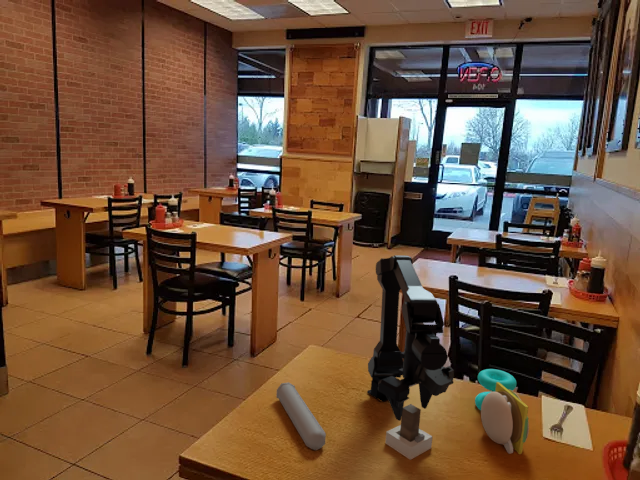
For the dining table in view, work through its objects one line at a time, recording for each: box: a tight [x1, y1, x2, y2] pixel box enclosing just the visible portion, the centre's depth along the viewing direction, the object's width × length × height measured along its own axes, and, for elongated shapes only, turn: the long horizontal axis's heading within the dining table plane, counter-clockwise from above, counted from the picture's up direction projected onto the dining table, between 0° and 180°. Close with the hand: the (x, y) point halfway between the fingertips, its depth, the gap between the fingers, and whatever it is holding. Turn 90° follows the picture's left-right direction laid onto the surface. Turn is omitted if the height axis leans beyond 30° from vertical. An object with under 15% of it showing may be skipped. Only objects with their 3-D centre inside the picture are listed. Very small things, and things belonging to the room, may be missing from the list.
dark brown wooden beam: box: [400, 403, 422, 442], centre depth 112 cm, size 3×3×9 cm
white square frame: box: [385, 424, 433, 461], centre depth 112 cm, size 8×8×4 cm
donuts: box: [474, 368, 517, 411], centre depth 131 cm, size 10×10×10 cm
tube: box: [276, 382, 327, 451], centre depth 119 cm, size 5×5×25 cm
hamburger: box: [480, 382, 530, 455], centre depth 116 cm, size 12×8×12 cm
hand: (411, 413), depth 111 cm, fingers open, 9 cm apart
